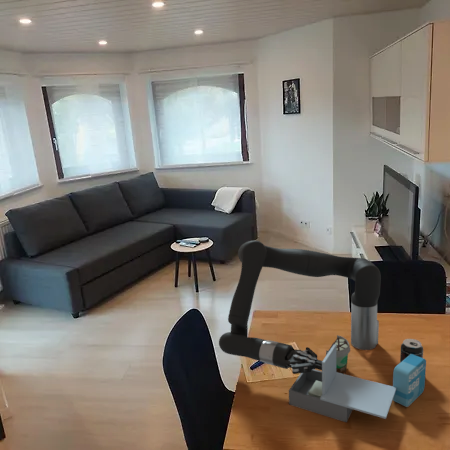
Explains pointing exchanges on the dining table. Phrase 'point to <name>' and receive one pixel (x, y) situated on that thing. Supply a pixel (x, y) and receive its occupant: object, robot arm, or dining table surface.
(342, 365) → the food container
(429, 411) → the dining table surface
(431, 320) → the dining table surface
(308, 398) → the box
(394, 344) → the dining table surface
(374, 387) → the lid
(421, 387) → the data package
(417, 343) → the beverage can
